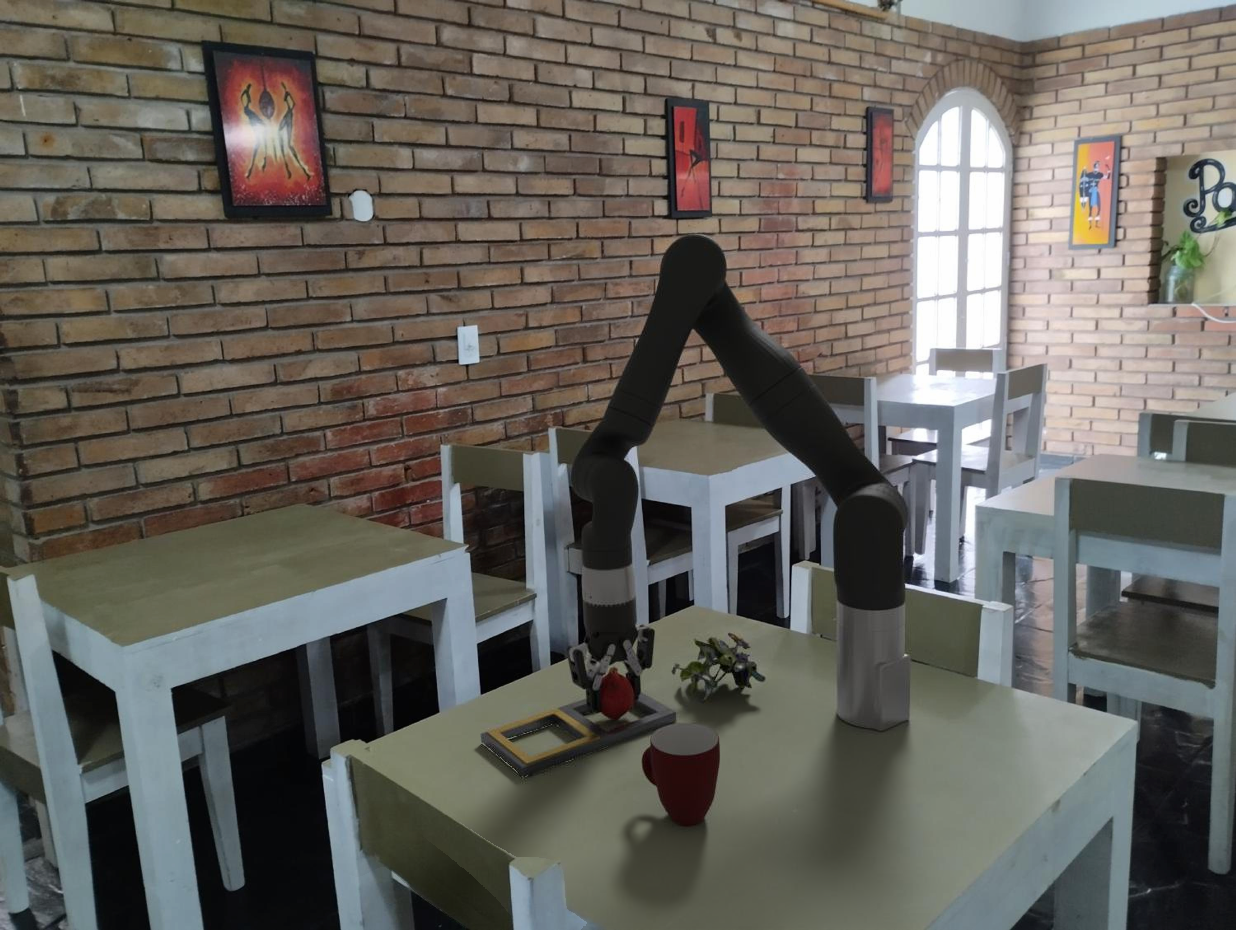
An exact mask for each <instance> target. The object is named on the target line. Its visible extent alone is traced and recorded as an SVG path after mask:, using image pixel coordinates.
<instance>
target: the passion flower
mask: <svg viewBox="0 0 1236 930" xmlns="http://www.w3.org/2000/svg"><path fill="white" fill-rule="evenodd" d="M727 636H728V637H729V638H730V639H732V640H733V642H734V643H736V644H735V646H732V647H729V644H726V642H725V641H723V640H721V638H720V639H718V638H717V637H716V636H715V637H714V636H710V637H709V638H708V639H706V642H707V643H706V642H704V641H700V640H699V639H698V638H697V637H695V638H694V639H693V640H694V645H696V646H697V647H698V648H699V649H700V650H699V652H698V656H697V660H695V661H690V663H688V665H687V666H686V667H684V668H682V667H681V666H680V663H677V662H676V663H675V664H674V666H673V667H672V669H671V673H672V675H673V676H674V675H675V674H676V671H677V669H678V670H681V671H680V673H679V678H680V680H681V682H684V681H686V680H689V679H690V682H691V683H692V684H691V685H690V693H691V695H693V693H694V691H695V687H696V686H697V684H698V683H699V681H701V680H703V682H704V690H705V691H704V692H705V694H704V698H703V700H702V702H701V703H702V704H704V703H705V701H706V700H707V698H708V696H709V695H710V694H711V693H712V692H713V691H714V690H715V688H717V687H718V684H719V682H720V681H721V680H722V679H723V678H724V677H725V676H726V674H731V675H732V676H733V680H734V683H735V685H736V686H737V687H739V688H740V689H743V688H745V687H746V688H747V689H752V688H753V686H752V684H751V682H750V679H751V678H754V679H755V680H756V681H758V682H761V683H763V682H765V681H766V676H764V675H763V674H761V673H760V672H758V667H757V663H756V662H755V661H751V660H750V659H749V658H748V657H750V656H751V654H747V653H745V652H743V651H741V652H739V651H738V649H739V648H740V647H742V648H743V649H744V650H747V649H751V648H752V647H751V646H750V645H749V642H746V641H745V640H744V639H743V637H740V636H738V635H737V634H736V633H731V632H728V633H727ZM702 659H705V660H704V662H701V661H700V660H702ZM716 665H719V669H718V671H717V672H716V673H715V674H714V676H712V675H711V674H710V673H711V672H710V669H711V668H712V667H714V666H716ZM720 671H722V672H723V674H722V675H721V676H720V677H719V678H718V679H717V677H718V676H719V673H720ZM704 676H705V677H708V678H709V679H706V678H705V677H704Z"/></svg>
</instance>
